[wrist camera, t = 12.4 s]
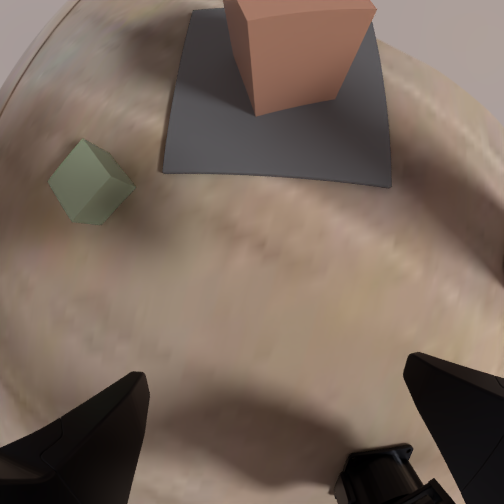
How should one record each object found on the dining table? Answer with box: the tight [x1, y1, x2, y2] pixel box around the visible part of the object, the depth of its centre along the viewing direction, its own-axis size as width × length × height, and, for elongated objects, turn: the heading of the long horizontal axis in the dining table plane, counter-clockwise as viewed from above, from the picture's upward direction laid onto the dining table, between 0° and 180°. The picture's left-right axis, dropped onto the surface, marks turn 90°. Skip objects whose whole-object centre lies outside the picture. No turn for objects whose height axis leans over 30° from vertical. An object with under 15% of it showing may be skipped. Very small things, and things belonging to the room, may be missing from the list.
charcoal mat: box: [162, 8, 392, 188], centre depth 19 cm, size 16×16×1 cm
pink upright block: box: [223, 0, 377, 116], centre depth 14 cm, size 6×6×10 cm
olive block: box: [47, 139, 136, 225], centre depth 18 cm, size 4×4×4 cm
